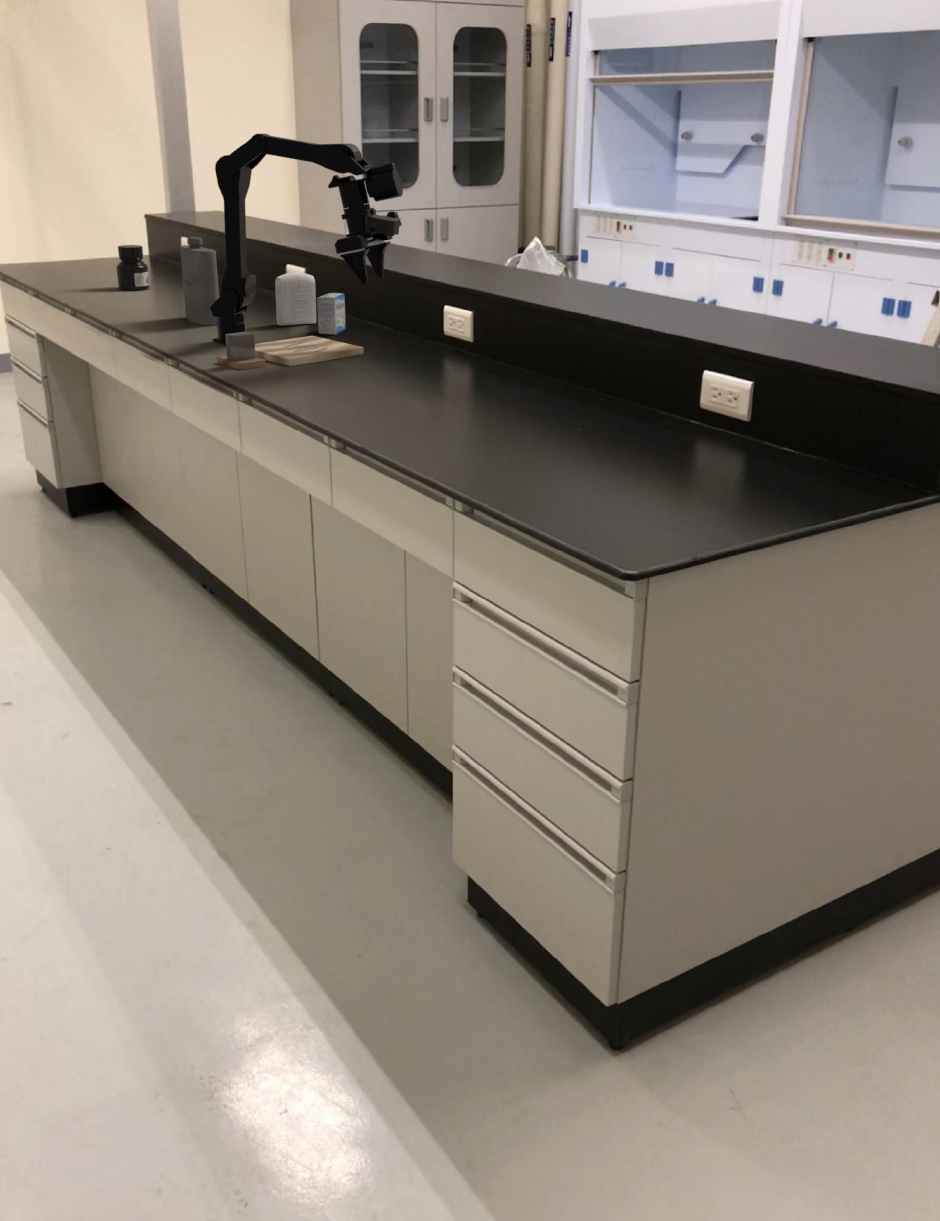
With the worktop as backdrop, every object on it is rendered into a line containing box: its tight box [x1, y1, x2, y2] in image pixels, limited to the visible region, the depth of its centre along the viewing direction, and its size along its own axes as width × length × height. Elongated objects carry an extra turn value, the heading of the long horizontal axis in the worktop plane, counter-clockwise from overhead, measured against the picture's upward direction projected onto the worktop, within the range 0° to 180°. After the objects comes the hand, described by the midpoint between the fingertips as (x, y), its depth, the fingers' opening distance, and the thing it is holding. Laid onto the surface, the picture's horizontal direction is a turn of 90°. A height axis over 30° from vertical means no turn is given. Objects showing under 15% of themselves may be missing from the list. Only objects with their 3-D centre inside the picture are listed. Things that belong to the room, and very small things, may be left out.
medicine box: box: [316, 292, 346, 336], centre depth 267 cm, size 8×4×9 cm, turn 168°
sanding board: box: [255, 335, 365, 367], centre depth 243 cm, size 18×20×2 cm
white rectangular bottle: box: [274, 272, 317, 326], centre depth 275 cm, size 10×4×12 cm, turn 123°
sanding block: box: [216, 331, 267, 371], centre depth 231 cm, size 9×6×6 cm, turn 45°
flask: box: [179, 236, 220, 327], centre depth 275 cm, size 15×6×20 cm, turn 32°
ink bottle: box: [115, 244, 151, 291], centre depth 324 cm, size 10×9×12 cm
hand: (373, 280), depth 243 cm, fingers open, 9 cm apart
